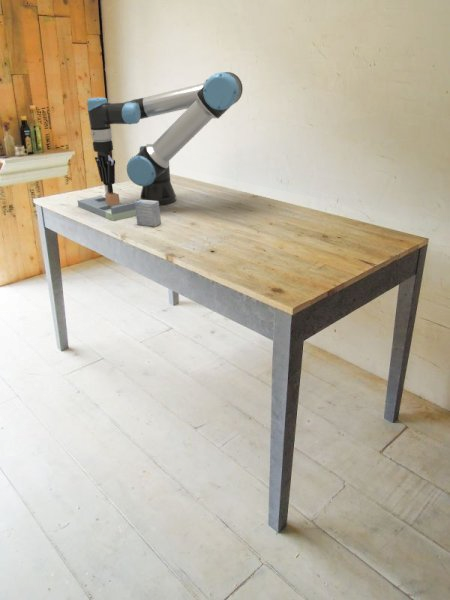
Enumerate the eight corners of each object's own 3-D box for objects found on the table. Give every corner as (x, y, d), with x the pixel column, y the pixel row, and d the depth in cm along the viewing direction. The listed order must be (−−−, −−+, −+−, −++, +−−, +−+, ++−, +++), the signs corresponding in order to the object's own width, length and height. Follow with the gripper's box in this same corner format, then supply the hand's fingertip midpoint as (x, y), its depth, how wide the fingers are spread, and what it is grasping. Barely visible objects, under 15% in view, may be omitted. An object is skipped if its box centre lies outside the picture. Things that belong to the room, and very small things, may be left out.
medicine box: (161, 223, 186) (159, 200, 182) (155, 227, 183) (152, 203, 179) (143, 221, 189) (141, 199, 186) (136, 225, 186) (134, 202, 182)
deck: (78, 206, 212) (76, 194, 210) (101, 201, 218) (100, 190, 216) (113, 221, 191) (112, 208, 189) (138, 215, 197) (137, 202, 195)
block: (106, 204, 204) (105, 194, 202) (115, 202, 206) (113, 192, 205) (111, 206, 201) (109, 196, 200) (119, 204, 203) (118, 194, 202)
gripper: (85, 140, 198) (94, 199, 208) (101, 143, 188) (109, 204, 199) (103, 137, 202) (111, 195, 212) (118, 140, 193) (126, 201, 203)
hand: (110, 200), depth 205 cm, fingers closed
